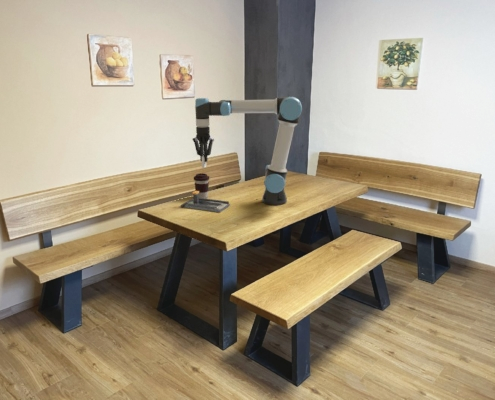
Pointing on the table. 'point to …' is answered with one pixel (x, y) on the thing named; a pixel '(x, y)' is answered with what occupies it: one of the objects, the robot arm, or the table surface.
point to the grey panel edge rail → (186, 203)
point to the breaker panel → (207, 206)
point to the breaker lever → (195, 196)
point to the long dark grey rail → (214, 200)
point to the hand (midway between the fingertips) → (204, 167)
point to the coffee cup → (202, 184)
